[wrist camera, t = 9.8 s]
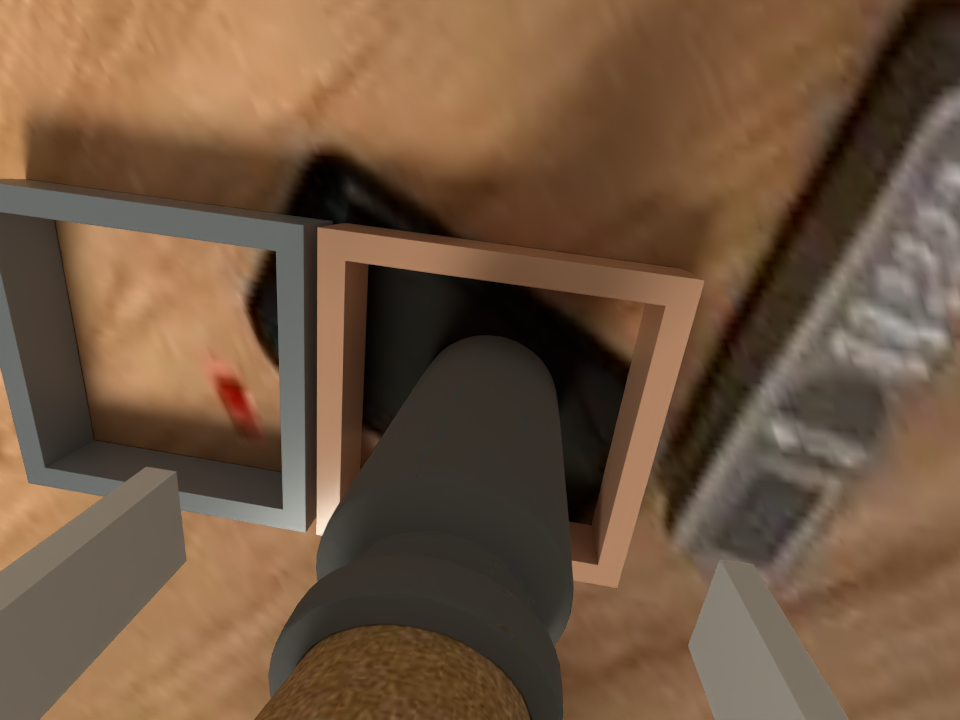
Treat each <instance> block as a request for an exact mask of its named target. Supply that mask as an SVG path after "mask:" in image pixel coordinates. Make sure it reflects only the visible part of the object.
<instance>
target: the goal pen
mask: <svg viewBox="0 0 960 720" xmlns="http://www.w3.org/2000/svg"><path fill="white" fill-rule="evenodd" d="M368 264H372V265H379V266H386V267H394V268H401V269H408V270H415V271H422V272H429V273H436V274H443V275H450V276H457V277H464V278H472V279H479V280H486V281H493V282H500V283H507V284H514V285H521V286H528V287H535V288H542V289H550V290H557V291H564V292H571V293H578V294H585V295H592V296H599V297H606V298H613V299H620V300H628V301H635V302H642V303H646V305H645V309H644V313H643V317H642V321H641V326H640V330H639V334H638V338H637V342H636V346H635V350H634V354H633V358H632V362H631V366H630V370H629V374H628V378H627V382H626V386H625V391H624V395H623V399H622V403H621V407H620V411H619V415H618V419H617V423H616V427H615V431H614V435H613V439H612V443H611V447H610V451H609V456H608V460H607V464H606V468H605V472H604V476H603V480H602V484H601V488H600V492H599V496H598V500H597V504H596V508H595V512H594V516H593V521H592V525H587V524H581V523H575V522H569V529H570V543H571V557H572V570H573V580H574V581H580V582H585V583H591V584H597V585H602V586H608V587H613V588H617V587H618V583H619V580H620V576H621V573H622V569H623V566H624V562H625V559H626V555H627V552H628V548H629V545H630V541H631V538H632V534H633V531H634V527H635V524H636V520H637V517H638V513H639V510H640V506H641V503H642V499H643V496H644V492H645V489H646V485H647V482H648V478H649V475H650V471H651V468H652V464H653V461H654V457H655V453H656V450H657V446H658V443H659V439H660V436H661V432H662V429H663V425H664V422H665V418H666V415H667V411H668V408H669V404H670V401H671V397H672V394H673V390H674V387H675V383H676V380H677V376H678V373H679V369H680V366H681V362H682V359H683V355H684V352H685V348H686V345H687V341H688V338H689V334H690V331H691V327H692V324H693V320H694V317H695V313H696V310H697V306H698V303H699V299H700V296H701V292H702V289H703V285H704V282H705V280H703V279H701V278H699V277H697V276H696V275H694V274H692V273H690V272H688V271H686V270H684V269H681V268H673V267H666V266H659V265H651V264H644V263H637V262H629V261H622V260H614V259H607V258H600V257H592V256H585V255H578V254H570V253H563V252H556V251H548V250H541V249H534V248H526V247H519V246H511V245H504V244H497V243H489V242H482V241H475V240H467V239H460V238H453V237H445V236H438V235H431V234H423V233H416V232H408V231H401V230H394V229H386V228H379V227H372V226H364V225H357V224H350V223H341V224H335V225H329V226H322V227H317V535H323V533H324V530H325V528H326V526H327V523H328V521H329V520H330V518H331V516H332V514H333V513H334V511H335V509H336V508H337V506H338V504H339V503H340V501H341V500H342V498H343V496H344V495H345V493H346V492H347V490H348V489H349V487H350V486H351V484H352V483H353V481H354V479H355V478H356V476H357V475H358V473H359V472H360V466H361V441H362V415H363V390H364V364H365V339H366V313H367V288H368Z"/></svg>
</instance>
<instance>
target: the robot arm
mask: <svg viewBox="0 0 960 720" xmlns="http://www.w3.org/2000/svg"><path fill="white" fill-rule="evenodd" d="M185 562H186V553H185V544H184V535H183V526H182V517H181V509H180V500H179V491H178V482H177V473H176V471H170V470H164V469H158V468H151V467H145V468H144V469H142V470H141V471H140V472H138V473H137V474H135V475H134V476H133V477H131V478H130V479H128V480H127V481H126V482H124V483H123V484H122V485H120V486H119V487H117V488H116V489H115V490H113V491H112V492H110V493H109V494H108V495H106V496H105V497H103V498H102V499H101V500H99V501H98V502H97V503H95V504H94V505H92V506H91V507H90V508H88V509H87V510H85V511H84V512H83V513H81V514H80V515H78V516H77V517H76V518H74V519H73V520H71V521H70V522H69V523H67V524H66V525H65V526H63V527H62V528H60V529H59V530H58V531H56V532H55V533H53V534H52V535H51V536H49V537H48V538H46V539H45V540H44V541H42V542H41V543H39V544H38V545H37V546H35V547H34V548H33V549H31V550H30V551H28V552H27V553H26V554H24V555H23V556H21V557H20V558H19V559H17V560H16V561H14V562H13V563H12V564H10V565H9V566H7V567H6V568H5V569H3V570H2V571H1V572H0V720H40V718H41V717H42V716H43V715H44V714H45V713H46V712H47V711H48V710H49V709H50V708H51V707H52V705H53V704H54V703H55V702H56V701H57V700H58V699H59V698H60V697H61V696H62V695H63V694H64V693H65V691H66V690H67V689H68V688H69V687H70V686H71V685H72V684H73V683H74V682H75V681H76V680H77V678H78V677H79V676H80V675H81V674H82V673H83V672H84V671H85V670H86V669H87V668H88V667H89V665H90V664H91V663H92V662H93V661H94V660H95V659H96V658H97V657H98V656H99V655H100V654H101V653H102V651H103V650H104V649H105V648H106V647H107V646H108V645H109V644H110V643H111V642H112V641H113V640H114V638H115V637H116V636H117V635H118V634H119V633H120V632H121V631H122V630H123V629H124V628H125V627H126V625H127V624H128V623H129V622H130V621H131V620H132V619H133V618H134V617H135V616H136V615H137V614H138V613H139V611H140V610H141V609H142V608H143V607H144V606H145V605H146V604H147V603H148V602H149V601H150V600H151V598H152V597H153V596H154V595H155V594H156V593H157V592H158V591H159V590H160V589H161V588H162V587H163V585H164V584H165V583H166V582H167V581H168V580H169V579H170V578H171V577H172V576H173V575H174V574H175V573H176V571H177V570H178V569H179V568H180V567H181V566H182V565H183V564H184V563H185ZM688 647H689V650H690V653H691V655H692V658H693V661H694V664H695V666H696V669H697V672H698V675H699V678H700V680H701V683H702V686H703V689H704V692H705V694H706V697H707V700H708V703H709V705H710V708H711V711H712V714H713V717H714V719H715V720H849V719H848V717H847V715H846V714H845V712H844V711H843V709H842V707H841V706H840V704H839V702H838V701H837V699H836V698H835V696H834V694H833V693H832V691H831V689H830V688H829V686H828V685H827V683H826V681H825V680H824V678H823V676H822V675H821V673H820V672H819V670H818V668H817V667H816V665H815V663H814V662H813V660H812V659H811V657H810V655H809V654H808V652H807V650H806V649H805V647H804V646H803V644H802V642H801V641H800V639H799V637H798V636H797V634H796V633H795V631H794V629H793V628H792V626H791V624H790V623H789V621H788V619H787V618H786V616H785V615H784V613H783V611H782V610H781V608H780V606H779V605H778V603H777V602H776V600H775V598H774V597H773V595H772V593H771V592H770V590H769V589H768V587H767V585H766V584H765V582H764V580H763V579H762V577H761V576H760V574H759V572H758V571H757V569H756V567H755V566H754V564H749V563H742V562H736V561H730V560H724V559H720V560H719V563H718V566H717V568H716V571H715V574H714V577H713V579H712V582H711V585H710V587H709V590H708V593H707V596H706V598H705V601H704V604H703V607H702V609H701V612H700V615H699V617H698V620H697V623H696V626H695V628H694V631H693V634H692V636H691V639H690V642H689V645H688Z"/></svg>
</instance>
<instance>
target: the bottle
mask: <svg viewBox="0 0 960 720" xmlns="http://www.w3.org/2000/svg"><path fill="white" fill-rule="evenodd" d="M316 571H317V580H318V582H317V583H316V584H315V585H314V586H313V587H312V588H311V589H309V591H308V592H307V593H306V594H305V596H304V597H303V598H302V599H301V601H300V602H299V603H298V605H297V606H296V608H295V610H294V611H293V613H292V615H291V616H290V618H289V619H288V621H287V623H286V624H285V626H284V628H283V630H282V632H281V634H280V636H279V638H278V640H277V642H276V644H275V647H274V650H273V653H272V657H271V662H270V669H269V685H270V695H271V699H270V700H269V702H268V703H267V704H266V705H265V707H264V708H263V709H262V711H261V712H260V713H259V714H258V716H257V717H256V718H255V719H254V720H562V717H563V695H562V683H561V673H560V664H559V661H558V657H557V654H556V651H555V648H554V645H555V644H556V643H557V641H558V640H559V638H560V636H561V635H562V633H563V631H564V630H565V628H566V625H567V622H568V619H569V616H570V613H571V607H572V600H573V570H572V557H571V543H570V529H569V517H568V506H567V495H566V484H565V473H564V462H563V451H562V440H561V429H560V418H559V410H558V402H557V394H556V389H555V385H554V382H553V379H552V376H551V374H550V372H549V371H548V369H547V367H546V366H545V364H544V363H543V362H542V360H541V359H540V358H539V357H538V356H537V355H536V354H535V353H534V352H532V351H531V350H530V349H528V348H527V347H525V346H524V345H522V344H520V343H518V342H516V341H514V340H511V339H508V338H505V337H501V336H493V335H479V336H472V337H468V338H464V339H462V340H459V341H457V342H455V343H453V344H451V345H449V346H448V347H446V348H445V349H444V350H443V351H442V352H441V353H439V354H438V355H437V356H436V358H435V359H434V360H433V361H432V362H431V364H430V365H429V367H428V368H427V369H426V371H425V372H424V373H423V375H422V376H421V378H420V379H419V381H418V382H417V384H416V385H415V387H414V388H413V390H412V392H411V393H410V395H409V396H408V398H407V399H406V401H405V402H404V404H403V405H402V407H401V408H400V410H399V412H398V413H397V415H396V416H395V418H394V419H393V421H392V422H391V424H390V425H389V427H388V429H387V430H386V432H385V433H384V435H383V436H382V438H381V439H380V441H379V442H378V444H377V446H376V447H375V449H374V450H373V452H372V453H371V455H370V456H369V458H368V459H367V461H366V462H365V464H364V466H363V467H362V469H361V470H360V472H359V473H358V475H357V476H356V478H355V479H354V481H353V483H352V484H351V486H350V487H349V489H348V490H347V492H346V493H345V495H344V496H343V498H342V500H341V501H340V503H339V504H338V506H337V508H336V509H335V511H334V513H333V514H332V516H331V518H330V520H329V521H328V523H327V526H326V528H325V530H324V533H323V535H322V537H321V541H320V544H319V548H318V552H317V562H316Z"/></svg>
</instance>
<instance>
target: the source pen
mask: <svg viewBox="0 0 960 720" xmlns="http://www.w3.org/2000/svg"><path fill="white" fill-rule="evenodd" d="M54 220H60V221H67V222H74V223H81V224H89V225H96V226H103V227H110V228H117V229H124V230H131V231H138V232H145V233H152V234H159V235H167V236H174V237H181V238H188V239H195V240H202V241H209V242H216V243H223V244H230V245H237V246H245V247H252V248H259V249H266V250H273V251H276V267H277V304H278V341H279V378H280V415H281V452H282V472H277V471H271V470H265V469H259V468H253V467H247V466H242V465H236V464H230V463H224V462H218V461H212V460H207V459H201V458H195V457H189V456H183V455H177V454H171V453H166V452H160V451H154V450H148V449H142V448H136V447H131V446H125V445H119V444H113V443H107V442H101V441H95V440H94V437H93V432H92V426H91V421H90V415H89V410H88V404H87V399H86V393H85V388H84V382H83V377H82V371H81V366H80V360H79V355H78V349H77V344H76V338H75V333H74V327H73V322H72V316H71V311H70V305H69V300H68V294H67V289H66V283H65V278H64V272H63V267H62V261H61V256H60V250H59V245H58V239H57V234H56V228H55V223H54ZM329 225H333V221H327V220H320V219H313V218H305V217H298V216H291V215H283V214H276V213H269V212H261V211H254V210H247V209H239V208H232V207H224V206H217V205H210V204H202V203H195V202H188V201H180V200H173V199H166V198H158V197H151V196H143V195H136V194H129V193H121V192H114V191H107V190H99V189H92V188H85V187H77V186H70V185H63V184H55V183H48V182H40V181H33V180H26V179H0V368H1V372H2V376H3V380H4V384H5V388H6V392H7V396H8V400H9V404H10V409H11V413H12V417H13V421H14V425H15V429H16V433H17V437H18V441H19V445H20V450H21V454H22V458H23V462H24V466H25V470H26V474H27V478H28V482H29V483H31V484H37V485H42V486H48V487H54V488H59V489H65V490H70V491H76V492H82V493H87V494H93V495H98V496H104V497H105V496H106V495H108V494H109V493H110V492H112V491H113V490H115V489H116V488H117V487H119V486H120V485H122V484H123V483H124V482H126V481H127V480H128V479H130V478H131V477H133V476H134V475H135V474H137V473H138V472H140V471H141V470H142V469H144V468H145V467H151V468H158V469H164V470H170V471H176V473H177V482H178V491H179V500H180V509H181V510H182V511H188V512H194V513H199V514H205V515H210V516H216V517H222V518H227V519H233V520H238V521H244V522H250V523H255V524H261V525H266V526H272V527H278V528H283V529H289V530H294V531H300V532H306V531H307V530H308V528H309V527H310V525H311V524H312V522H313V521H314V519H315V518H316V516H317V227H322V226H329Z"/></svg>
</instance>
